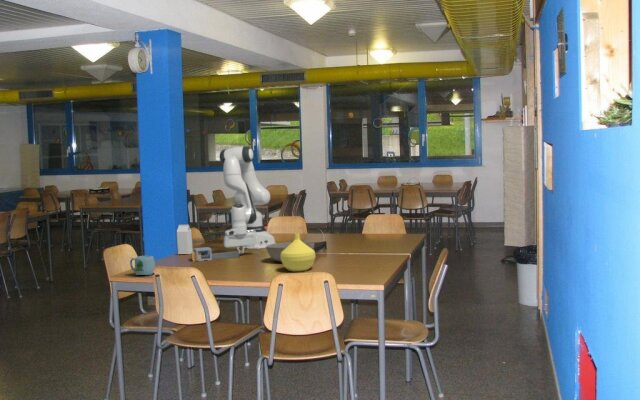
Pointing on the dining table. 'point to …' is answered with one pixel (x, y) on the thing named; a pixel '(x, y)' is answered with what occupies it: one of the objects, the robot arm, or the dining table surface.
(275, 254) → the bowl
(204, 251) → the pale blue storage bin
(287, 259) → the vase
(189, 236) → the milk carton
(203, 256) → the rod
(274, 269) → the dining table surface
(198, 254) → the block
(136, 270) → the mug
